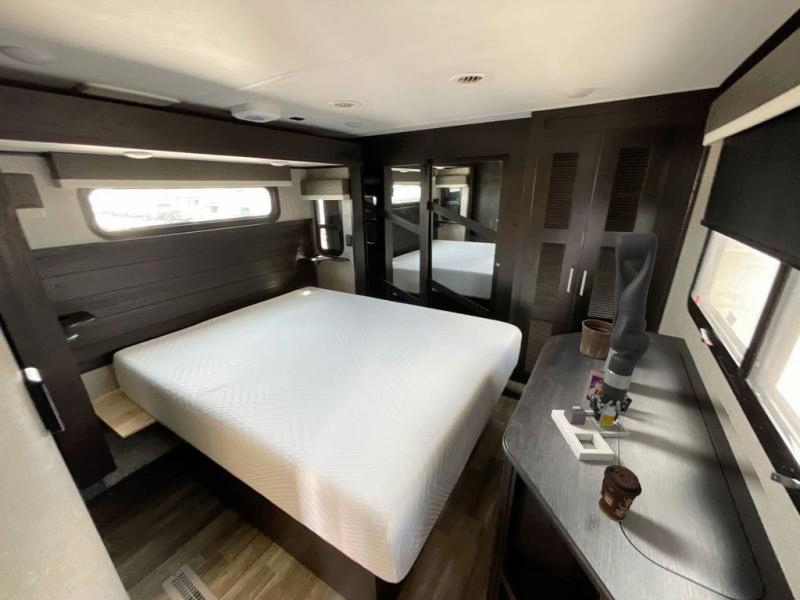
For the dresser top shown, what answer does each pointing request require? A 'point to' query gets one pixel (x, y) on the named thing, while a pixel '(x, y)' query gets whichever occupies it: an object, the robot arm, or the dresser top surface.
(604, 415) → the supplement bottle
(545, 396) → the dresser top surface
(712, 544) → the dresser top surface
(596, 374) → the greeting card
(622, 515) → the coffee cup
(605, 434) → the tray
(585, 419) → the white holder base
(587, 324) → the plant pot
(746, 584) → the dresser top surface
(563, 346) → the dresser top surface
